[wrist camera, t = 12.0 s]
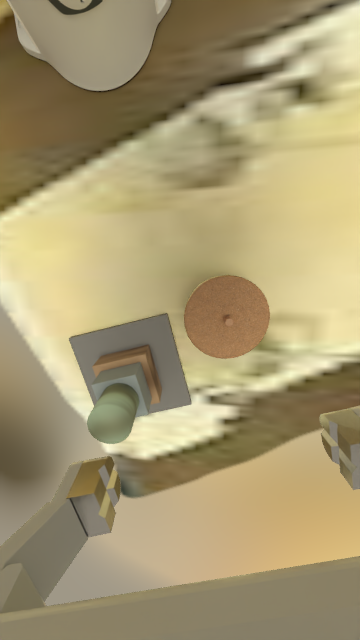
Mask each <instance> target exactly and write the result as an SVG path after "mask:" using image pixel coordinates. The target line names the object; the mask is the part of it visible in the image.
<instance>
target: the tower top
mask: <svg viewBox="0 0 360 640" xmlns="http://www.w3.org/2000/svg"><path fill="white" fill-rule="evenodd" d="M115 383H123V384H127V385H129V386H131V387H132V388H133V389H134V390H135V391H136V392H137V394H138V396H139V406H138V409H137V412H136V416H135V417H139V416H144V415H148V414H149V409H150V405H151V400H152V397H151V394H150V390H149V387H148V384H147V381H146V378H145V375H144V371H143V368H142V365H141V362H138V363H134V364H130V365H125V366H121V367H117V368H113V369H108V370H104V371H101V372H100V373H99V375H98V376H97V378H96V379H95V380H94V382H93V383H92V385H91V386H92V388H93V391H94V394H95V396H96V399H97V401H98V400H99V398H100V396H101V395H102V393H103V391H104V390H105V389H106V388H107V387H108V386H109V385H112V384H115Z"/></svg>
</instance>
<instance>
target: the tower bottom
mask: <svg viewBox="0 0 360 640" xmlns="http://www.w3.org/2000/svg"><path fill="white" fill-rule="evenodd" d="M138 362H141V365H142V368H143V371H144V375H145V378H146V381H147V384H148V387H149V390H150V394H151V397H152V400H151V404H155V403H160V399H161V393H162V387H161V383H160V380H159V377H158V373H157V370H156V367H155V363H154V360H153V357H152V353H151V350H150V347H149V345H145V346H140V347H136V348H132V349H128V350H124V351H119V352H115V353H111V354H107V355H103V356H100V358H99V359H98V360H97V361H96V363H95V364H94V365H93V366H92V368H93V370H94V373H95V376H96V378H97V376H98V375H99V373H100V372H101V371H104V370H108V369H113V368H117V367H121V366H125V365H130V364H134V363H138Z"/></svg>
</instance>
